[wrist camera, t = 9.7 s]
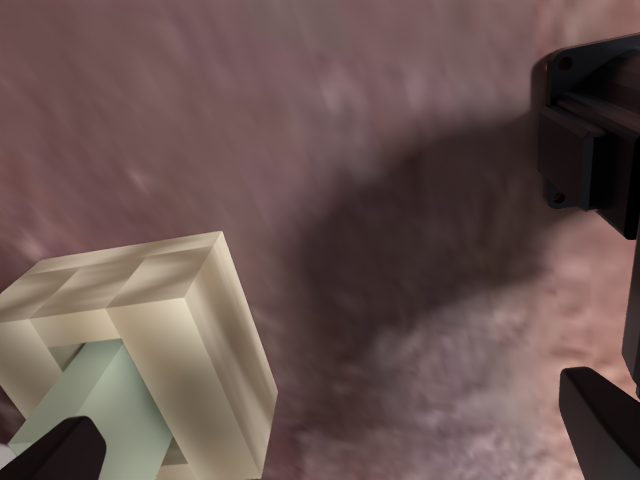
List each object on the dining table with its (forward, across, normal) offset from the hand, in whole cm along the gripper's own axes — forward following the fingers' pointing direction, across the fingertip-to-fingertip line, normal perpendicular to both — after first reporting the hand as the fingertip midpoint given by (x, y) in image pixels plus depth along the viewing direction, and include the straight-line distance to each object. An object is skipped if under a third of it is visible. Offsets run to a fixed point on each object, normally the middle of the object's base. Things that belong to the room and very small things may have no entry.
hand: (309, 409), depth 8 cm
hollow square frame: (+13, +11, +7) cm, 19 cm away
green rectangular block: (+12, +11, +7) cm, 18 cm away
